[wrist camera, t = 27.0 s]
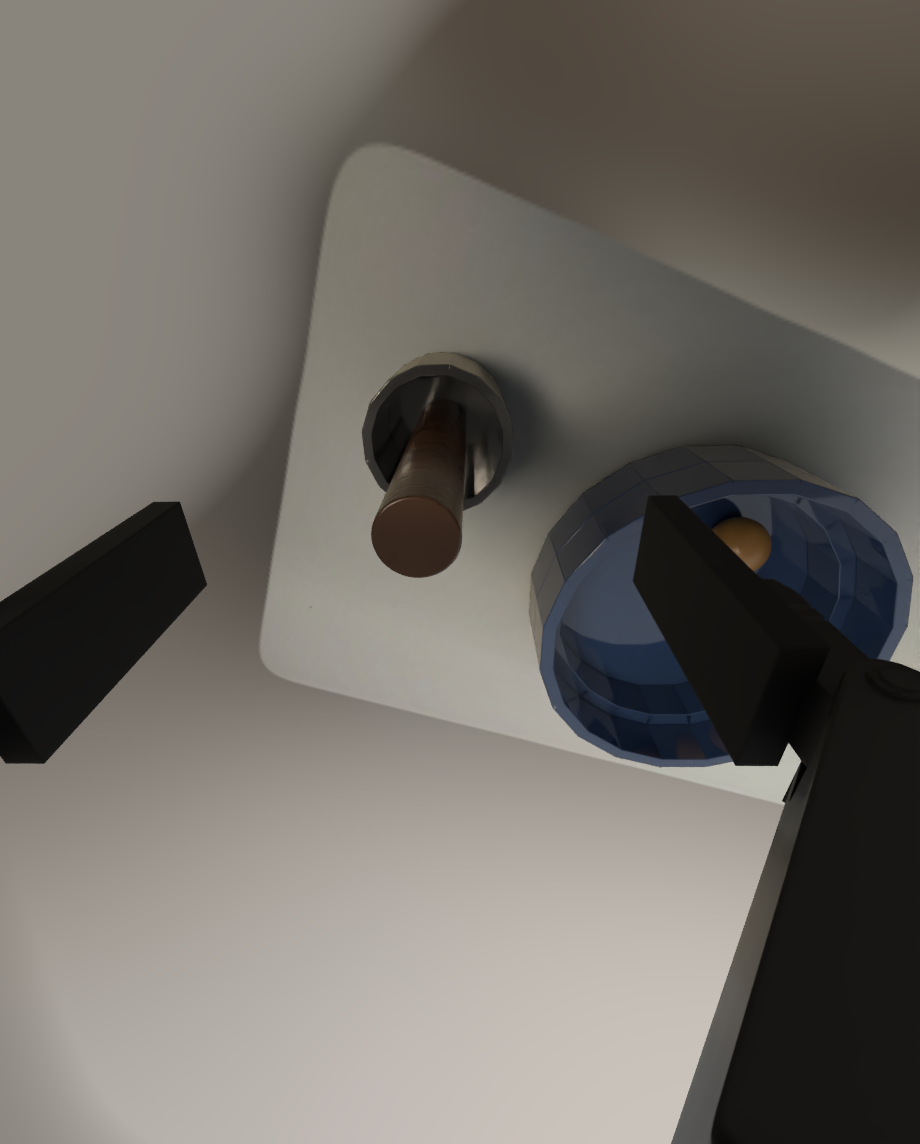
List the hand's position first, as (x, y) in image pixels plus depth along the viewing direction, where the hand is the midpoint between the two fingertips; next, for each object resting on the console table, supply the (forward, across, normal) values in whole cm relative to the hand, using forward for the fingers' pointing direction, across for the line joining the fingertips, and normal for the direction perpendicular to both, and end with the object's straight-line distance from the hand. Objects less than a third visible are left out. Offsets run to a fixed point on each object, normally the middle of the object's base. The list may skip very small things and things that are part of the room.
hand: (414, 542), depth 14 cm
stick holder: (+17, 0, 0) cm, 17 cm away
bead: (+15, +18, -8) cm, 25 cm away
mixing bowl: (+17, +16, -12) cm, 27 cm away
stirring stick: (+17, 0, 0) cm, 17 cm away
